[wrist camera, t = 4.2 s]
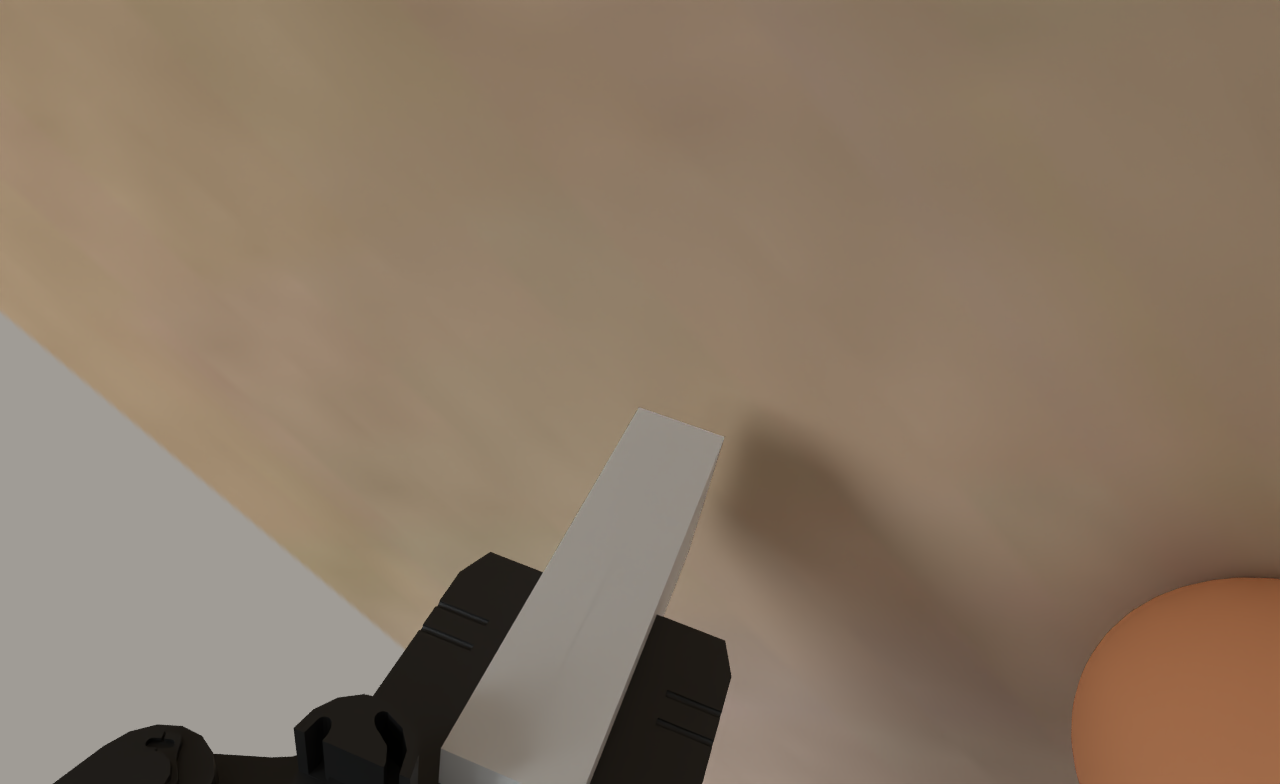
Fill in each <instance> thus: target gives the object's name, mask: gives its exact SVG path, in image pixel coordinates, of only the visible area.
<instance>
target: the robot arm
mask: <svg viewBox="0 0 1280 784" xmlns="http://www.w3.org/2000/svg"><path fill="white" fill-rule="evenodd" d="M723 441H724V436H721V435H718V434H715V433H712V432H710V431H707V430H704V429H701V428H698V427H695V426H692V425H689V424H687V423H684V422H681V421H678V420H675V419H672V418H669V417H666V416H663V415H661V414H658V413H655V412H652V411H649V410H646V409H643V408H640V407H639V408H638V410H637V411H636V413H635V415H634V417H633V418H632V420H631V422H630V424H629V425H628V427H627V429H626V430H625V432H624V434H623V436H622V437H621V439H620V441H619V442H618V444H617V446H616V448H615V449H614V451H613V453H612V455H611V456H610V458H609V460H608V461H607V463H606V465H605V467H604V468H603V470H602V472H601V473H600V475H599V477H598V479H597V480H596V482H595V484H594V486H593V487H592V489H591V491H590V492H589V494H588V496H587V498H586V499H585V501H584V503H583V504H582V506H581V508H580V510H579V511H578V513H577V515H576V517H575V518H574V520H573V522H572V523H571V525H570V527H569V529H568V530H567V532H566V534H565V535H564V537H563V539H562V541H561V542H560V544H559V546H558V548H557V549H556V551H555V553H554V554H553V556H552V558H551V560H550V561H549V563H548V565H547V566H546V568H545V570H544V572H541V571H538V570H536V569H533V568H530V567H528V566H525V565H523V564H520V563H517V562H515V561H512V560H510V559H507V558H505V557H502V556H499V555H497V554H494V553H492V552H490V553H488V554H487V555H485V556H484V557H482V558H480V559H479V560H477V561H476V562H474V563H473V564H471V565H470V566H468V567H467V568H465V569H464V570H462V571H460V572H459V574H458V575H457V577H456V578H455V580H454V581H453V582H452V584H451V585H450V587H449V588H448V590H447V591H446V592H445V594H444V595H443V597H442V598H441V600H440V602H439V604H438V606H437V607H435V608H434V610H433V611H432V612H431V614H430V615H429V617H428V618H427V620H426V621H425V622H424V624H423V627H422V629H421V630H419V631H418V632H417V634H416V635H415V637H414V638H413V640H412V641H411V642H410V644H409V645H408V647H407V648H406V650H405V651H404V652H403V654H402V655H401V657H400V658H399V660H398V661H397V662H396V664H395V666H394V667H393V668H392V670H391V671H390V673H389V674H388V675H387V677H386V678H385V680H384V681H383V683H382V684H381V685H380V687H379V688H378V690H377V691H376V693H375V694H374V695H373V696H369V695H365V694H362V695H355V696H347V697H340V698H336V699H334V700H332V701H330V702H328V703H326V704H324V705H322V706H320V707H318V708H315V709H313V710H312V711H311V712H310V713H309V714H308V715H307V716H306V717H305V718H304V719H303V720H302V721H301V722H300V723H299V724H297V725H296V727H294V734H295V743H296V751H297V755H296V756H293V757H273V758H269V757H256V756H240V755H223V754H213V752H212V751H211V749H210V748H209V746H208V745H207V743H206V742H205V740H204V739H203V737H202V736H201V735H199V734H197V733H195V732H193V731H191V730H189V729H187V728H185V727H183V726H171V725H154V726H150V727H146V728H142V729H138V730H134V731H130V732H128V733H127V734H125V735H123V736H121V737H119V738H117V739H116V740H114V741H112V742H110V743H108V744H107V745H105V746H103V747H102V748H100V749H99V750H98V751H97V752H95V753H94V754H92V755H91V756H90V757H88V758H87V759H86V760H84V761H83V762H82V763H80V764H79V765H78V766H76V767H75V768H74V769H72V770H71V771H69V772H68V773H67V774H65V775H64V776H63V777H61V778H60V779H59V780H57V781H56V782H55V783H53V784H702V782H703V779H704V775H705V771H706V768H707V764H708V760H709V757H710V753H711V749H712V744H713V742H714V738H715V735H716V731H717V727H718V724H719V720H720V715H721V712H722V709H723V705H724V702H725V698H726V694H727V691H728V687H729V683H730V680H731V672H730V666H729V660H728V655H727V649H726V643H725V640H722V639H719V638H717V637H714V636H712V635H709V634H706V633H704V632H701V631H699V630H696V629H693V628H691V627H688V626H686V625H683V624H681V623H678V622H675V621H673V620H670V619H668V618H665V617H663V616H664V614H665V611H666V609H667V606H668V603H669V601H670V598H671V596H672V593H673V590H674V588H675V585H676V583H677V580H678V578H679V575H680V572H681V570H682V567H683V565H684V562H685V559H686V557H687V554H688V552H689V549H690V545H691V542H692V539H693V536H694V533H695V530H696V526H697V523H698V520H699V517H700V514H701V510H702V507H703V504H704V501H705V498H706V495H707V491H708V488H709V485H710V482H711V479H712V476H713V472H714V469H715V466H716V463H717V460H718V456H719V453H720V450H721V447H722V444H723Z"/></svg>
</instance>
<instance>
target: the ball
mask: <svg viewBox="0 0 1280 784" xmlns="http://www.w3.org/2000/svg"><path fill="white" fill-rule="evenodd" d="M1071 742H1072V750H1073V756H1074V763H1075V769H1076V773H1077V777H1078V780H1079V784H1280V579H1273V578H1229V579H1218V580H1211V581H1206V582H1201V583H1197V584H1192V585H1188V586H1184V587H1180V588H1178V589H1175V590H1173V591H1170V592H1167V593H1165V594H1162V595H1160V596H1157V597H1155V598H1153V599H1152V600H1150V601H1148V602H1146V603H1145V604H1143V605H1141V606H1140V607H1138V608H1136V609H1135V610H1133V611H1132V612H1130V613H1129V614H1128V615H1126V616H1125V617H1124V618H1123V619H1122V620H1121V621H1119V622H1118V623H1117V624H1116V625H1115V626H1114V627H1113V628H1112V629H1111V630H1110V631H1109V632H1108V633H1107V634H1106V635H1105V636H1104V638H1103V639H1102V640H1101V642H1100V643H1099V645H1098V646H1097V647H1096V649H1095V650H1094V652H1093V653H1092V655H1091V657H1090V658H1089V660H1088V662H1087V664H1086V666H1085V668H1084V670H1083V673H1082V675H1081V678H1080V681H1079V684H1078V688H1077V691H1076V695H1075V699H1074V703H1073V710H1072V729H1071Z"/></svg>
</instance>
